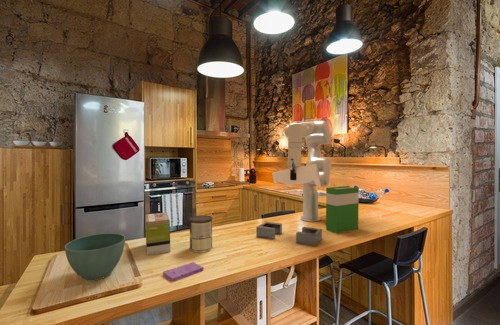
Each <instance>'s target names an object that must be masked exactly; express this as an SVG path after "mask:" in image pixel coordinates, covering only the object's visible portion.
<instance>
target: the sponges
mask: <svg viewBox="0 0 500 325" xmlns="http://www.w3.org/2000/svg"><path fill="white" fill-rule="evenodd" d="M204 269H205V268H204V266H202V265H200V264H198V263H196V262H194V261H192V262H189V263H186V264H183V265H180V266H177V267H173V268H170V269H166V270H162V276H163V277H166V279H168V280H169V281H171V282H173V283H174V282H176V281H178V280H181V279H184V278H186V277H188V276H192V275H195V274H197V273H201V272H203V271H204Z"/></svg>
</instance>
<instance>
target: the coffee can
mask: <svg viewBox="0 0 500 325" xmlns="http://www.w3.org/2000/svg"><path fill="white" fill-rule="evenodd" d="M189 246H190V247H189V251H191V252H193V253H199V254H200V253H206V252H209V251H211V250H212V249H213V216H211V215H205V214H203V215H202V214H200V215H194V216H191V217H189Z"/></svg>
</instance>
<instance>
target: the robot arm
mask: <svg viewBox="0 0 500 325" xmlns="http://www.w3.org/2000/svg"><path fill="white" fill-rule="evenodd" d="M283 132H284V136H285V137H286V138H287V141H288V142H287V149H288V152H287V167H288V168H289V169H290V180H296V167H301V166H302V149H303V138H304V140H305V144H306V147H307V150H308V151H307V152H308V154H307V160H306V166H307V165H312V164H317V168H318V171H319V178H320V183H321V188H322V187H326V188H327V186H329V184H330V180H331V179H330V178H331V171H332V161H331V159H330V158H329V157H326V156H325V157H324V156H322V151H321V149H320V147H318V146H317V145H329V144H330V143H331V141H332V135H331V130H330V127H329V125H328V123H327V122H326V121H325V120H313V121H312V120H311V121H304V122H300V123H299V122H292V123H289V124H287V125H286V126H285V127H284V131H283ZM316 187H317V186H316V185H315V182H314V181H311V182H308V183H302V200H303V201H302V203H303V204H302V216H300V219H301V221H303V222H304V221H305V222H309V223H310V222H312V223H313V222H319V221H321V217H320V216H319V192H318V190H317V188H316Z"/></svg>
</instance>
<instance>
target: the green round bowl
mask: <svg viewBox="0 0 500 325" xmlns="http://www.w3.org/2000/svg"><path fill="white" fill-rule="evenodd" d="M125 243H126V236H125V235H123V234H121V233H115V232H113V233H112V232H110V233H105V232H104V233H96V234H91V235H86V236H82V237H79V238H76V239H72V240H71V241H69V242H67V243H66V244H65V245H64V251H65V256H66V257H65V258H66V259H67V262H68V264H69V265H70V267H71V269H72V271H74V272H75V273H76V275H77V276H79V277H80V278H81V279H83V280H84V281H98V280H101V278H102V279H104V278H106V277H108V276H109V275H111V273H112V272H113V271H114V269H115V268H116V266H117V265H118V264H119V262H120V260H121V257H122V255H123V252H124V248H125V245H126V244H125ZM103 277H104V278H103ZM97 279H98V280H97Z"/></svg>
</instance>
